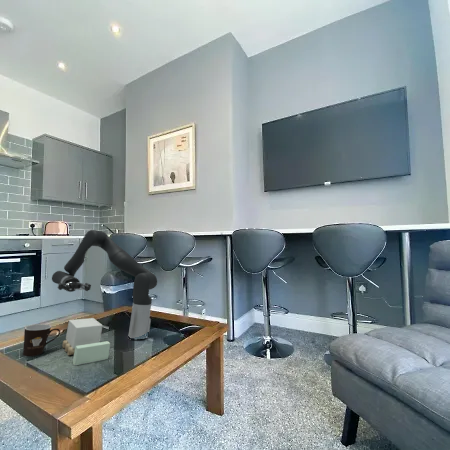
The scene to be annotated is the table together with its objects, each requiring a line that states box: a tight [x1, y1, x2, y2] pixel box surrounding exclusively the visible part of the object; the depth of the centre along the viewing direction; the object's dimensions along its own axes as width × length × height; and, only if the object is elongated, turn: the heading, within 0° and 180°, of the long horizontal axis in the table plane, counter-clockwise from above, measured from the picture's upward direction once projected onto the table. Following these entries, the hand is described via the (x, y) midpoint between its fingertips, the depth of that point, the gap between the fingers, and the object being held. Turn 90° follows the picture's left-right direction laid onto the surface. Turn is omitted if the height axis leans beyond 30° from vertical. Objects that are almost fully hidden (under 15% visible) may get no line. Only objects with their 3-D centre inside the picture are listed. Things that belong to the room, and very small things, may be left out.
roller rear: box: [62, 339, 69, 349], centre depth 110 cm, size 12×3×3 cm, turn 134°
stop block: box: [72, 340, 111, 366], centre depth 97 cm, size 12×3×6 cm, turn 134°
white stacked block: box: [65, 317, 103, 349], centre depth 108 cm, size 10×13×8 cm
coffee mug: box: [22, 323, 61, 357], centre depth 99 cm, size 12×9×10 cm
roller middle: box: [64, 344, 71, 353], centre depth 107 cm, size 12×3×3 cm, turn 134°
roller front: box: [66, 347, 75, 356], centre depth 104 cm, size 12×3×3 cm, turn 134°
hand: (78, 289), depth 122 cm, fingers open, 8 cm apart
